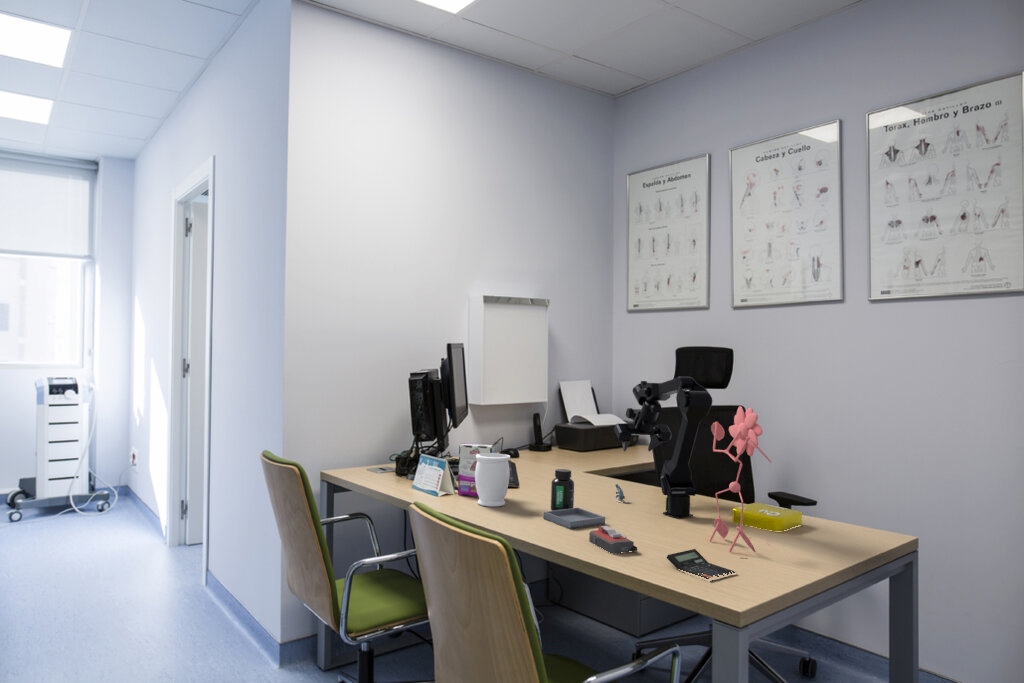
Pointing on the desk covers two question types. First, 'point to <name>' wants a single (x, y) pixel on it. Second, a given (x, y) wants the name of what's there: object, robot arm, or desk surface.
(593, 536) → the walkie-talkie
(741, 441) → the figurine
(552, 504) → the supplement bottle
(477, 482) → the jar
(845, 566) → the desk surface
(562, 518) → the tray
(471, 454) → the candy bar box
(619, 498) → the sculpture
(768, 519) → the element tile
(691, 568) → the calculator
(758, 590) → the desk surface
